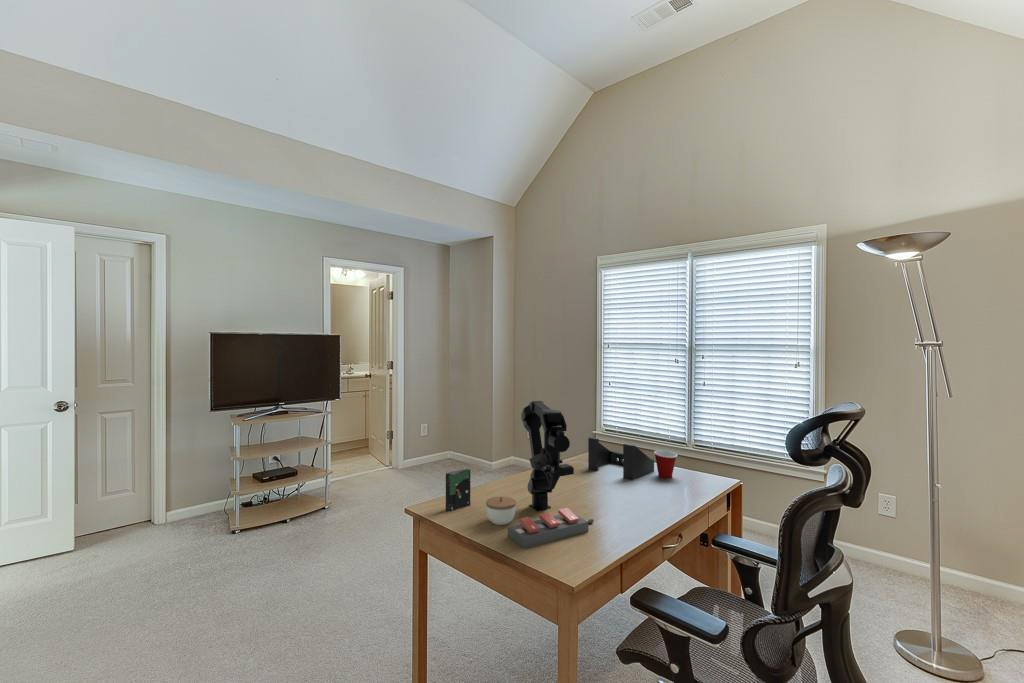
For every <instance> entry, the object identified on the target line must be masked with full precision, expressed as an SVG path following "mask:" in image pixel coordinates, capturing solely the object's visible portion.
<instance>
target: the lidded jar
mask: <svg viewBox="0 0 1024 683" xmlns="http://www.w3.org/2000/svg"><path fill="white" fill-rule="evenodd" d="M516 505H517V500H516V499H514V498H513V497H509V496H494V497H493V496H492V497H490V498H487V500H486V502H485V506H486V508H485V509H486V510H485V511H486V515H487V518H488V519H489V521H490V522H491V524H494V525H496V526H505V525H508V524H510V523H511V522H512V521H513V519H514V517H515V515H516Z"/></svg>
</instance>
